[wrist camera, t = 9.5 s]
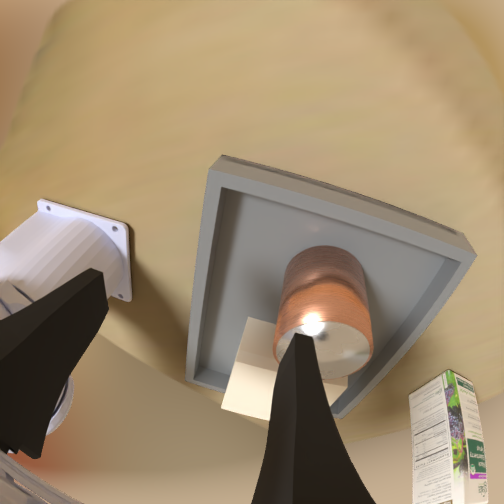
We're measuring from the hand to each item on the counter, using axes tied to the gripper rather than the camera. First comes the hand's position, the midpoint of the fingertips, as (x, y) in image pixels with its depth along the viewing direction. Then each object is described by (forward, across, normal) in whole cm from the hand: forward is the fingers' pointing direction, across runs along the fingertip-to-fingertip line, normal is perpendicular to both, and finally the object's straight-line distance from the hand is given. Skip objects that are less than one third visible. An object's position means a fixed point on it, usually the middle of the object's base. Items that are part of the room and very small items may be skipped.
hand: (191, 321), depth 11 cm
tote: (+10, -6, +8) cm, 14 cm away
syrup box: (+10, -24, +14) cm, 30 cm away
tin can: (+9, -6, +4) cm, 11 cm away
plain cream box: (+9, -6, +13) cm, 17 cm away
